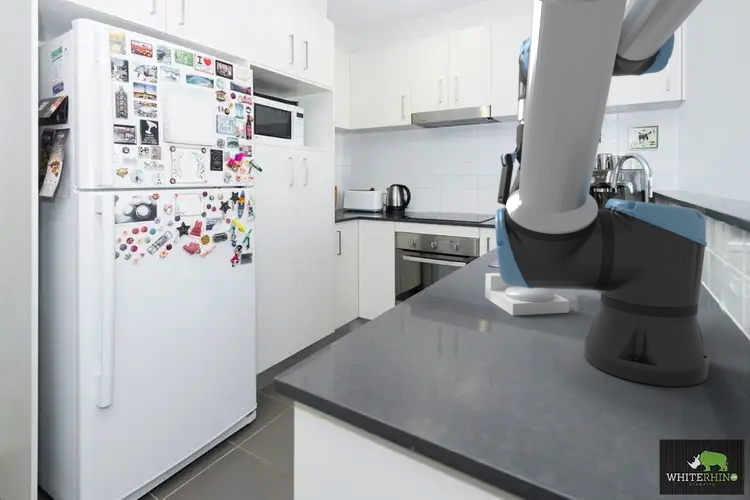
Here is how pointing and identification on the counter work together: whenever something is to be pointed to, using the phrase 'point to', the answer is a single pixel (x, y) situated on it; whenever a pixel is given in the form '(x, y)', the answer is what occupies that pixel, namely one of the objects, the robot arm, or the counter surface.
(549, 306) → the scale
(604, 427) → the counter surface
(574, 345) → the counter surface
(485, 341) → the counter surface
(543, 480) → the counter surface
